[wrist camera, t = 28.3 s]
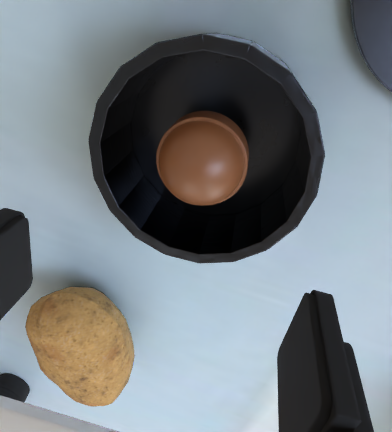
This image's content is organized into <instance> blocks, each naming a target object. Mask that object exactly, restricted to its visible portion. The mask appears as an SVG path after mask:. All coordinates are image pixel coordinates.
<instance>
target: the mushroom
mask: <svg viewBox="0 0 392 432" xmlns="http://www.w3.org/2000/svg"><path fill="white" fill-rule="evenodd" d="M248 161H249V148H248V144H247V140H246V138H245V136H244V134H243V132H242V131H241V129H240V128H239V127H238V125H237V124H236V123H235V122H233V121H232V120H231V119H230V118H228V117H226V116H224V115H222V114H220V113H217V112H213V111H196V112H192V113H189V114H187V115H185V116H183V117H181V118H180V119H178V120H177V121H176V122H175V123H174V124H173V125H172V126H171V127H170V128H169V129H168V130H167V131H166V133H165V134H164V135H163V137H162V139H161V141H160V143H159V145H158V149H157V154H156V163H157V169H158V173H159V175H160V178H161V180H162V182H163V183H164V185H165V186H166V187H167V188H168V190H169V191H170V192H171V193H172V194H173V195H174V196H175V197H177V198H178V199H180V200H182V201H184V202H186V203H189V204H192V205H201V206H202V205H214V204H217V203H221V202H223V201H225V200H227V199H229V198H230V197H231V196H233V195H234V194H235V193H236V192H237V191H238V190H239V188H240V187H241V186H242V184H243V182H244V180H245V177H246V174H247V170H248Z"/></svg>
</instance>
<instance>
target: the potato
mask: <svg viewBox="0 0 392 432" xmlns="http://www.w3.org/2000/svg"><path fill="white" fill-rule="evenodd" d="M26 331H27V335H28V338H29V341H30V343H31V346H32V348H33V350H34V353H35V355H36V357H37V360H38V363H39V366H40V369H41V370H42V371H43V372H44V374H45V375H46V376H47V377H48V378H49V379H50V380H51V381H53V382H54V383H55V384H57V385H58V386H59V387H60V388H61V389H62V390H63V391H64V392H65V394H66V395H68V396H69V397H70V398H72V399H73V400H74V401H76V402H79V403H82V404H85V405H88V406H105V405H108V404H111V403H113V402H114V401H115V399H116V398H117V397H118V396H119V395H120V393H121V392H122V390H123V388H124V387H125V385H126V384H127V382H128V380H129V377H130V374H131V370H132V366H133V361H134V347H133V341H132V337H131V333H130V330H129V327H128V324H127V322H126V319H125V318H124V316H123V315H122V313H121V312H120V311H119V309H118V308H117V307H116V306H115V305H114V303H113V302H112V301H111V300H110V299H109V298H108V297H106V296H105V295H104V294H103V293H102V292H100V291H98V290H96V289H94V288H85V287H68V288H65V289H62V290H59V291H56V292H53V293H51V294H49V295H46V296H44V297H41V298H40V299H39V300H38V301H37V302H36V303H34V304H33V305H32V306H31V308H30V311H29V314H28V317H27V321H26Z"/></svg>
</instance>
